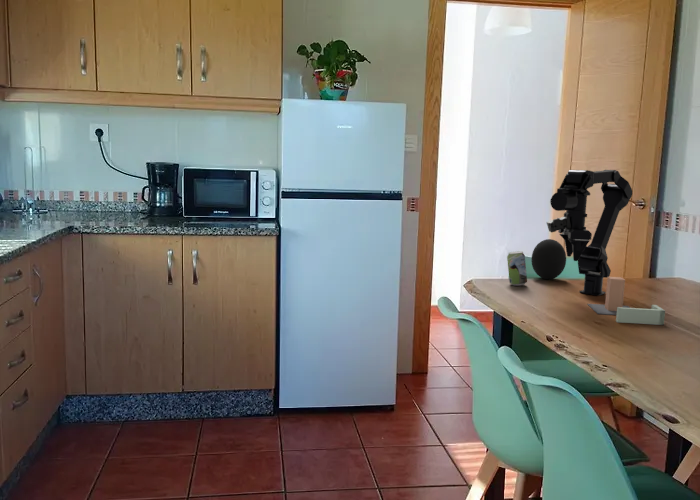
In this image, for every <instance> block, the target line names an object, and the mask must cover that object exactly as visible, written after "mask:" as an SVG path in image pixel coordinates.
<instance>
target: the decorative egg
mask: <svg viewBox="0 0 700 500" xmlns="http://www.w3.org/2000/svg"><path fill="white" fill-rule="evenodd" d="M530 261H531V267H532V269H533V271H534V272H535V274H536V275H537V276H539V277H540V278H542V279H544V280H553V279H556V278H557V277H559V276H560V275H561V274H562V273H563V272H564V269H565V267H566V265H567V264H566V263H567V252H566V249H564V247H563V245H562V244H561V243H560V242H559V241H557V240H554V239H552V238H551V239H550V238H547V239H544V240H542V241H539V242H538V243H537V245H535V247H534V248H533V250H532V253H531V259H530Z"/></svg>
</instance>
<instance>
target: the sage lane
mask: <svg viewBox="0 0 700 500" xmlns="http://www.w3.org/2000/svg"><path fill="white" fill-rule="evenodd" d="M665 315H666V310H665V309H663V308H662V307H660V306H659V305H658V304H651V307H650V308H641V307H640V308H637V307H636V308H635V307H630V308H623V307H617V315H615V317H616V318H615V322H616V323H623V324H641V325H643V324H644V325H657V326H659V325H660V326H664V325H665V317H666V316H665Z"/></svg>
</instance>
